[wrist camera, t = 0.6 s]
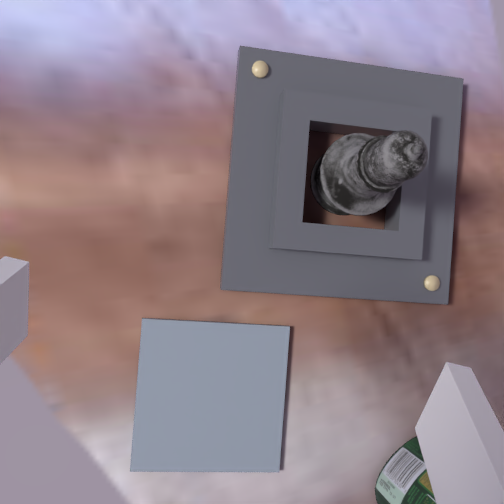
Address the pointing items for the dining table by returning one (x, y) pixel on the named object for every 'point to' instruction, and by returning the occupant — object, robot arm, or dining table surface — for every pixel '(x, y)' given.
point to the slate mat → (209, 397)
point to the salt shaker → (366, 171)
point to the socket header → (294, 175)
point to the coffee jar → (405, 478)
